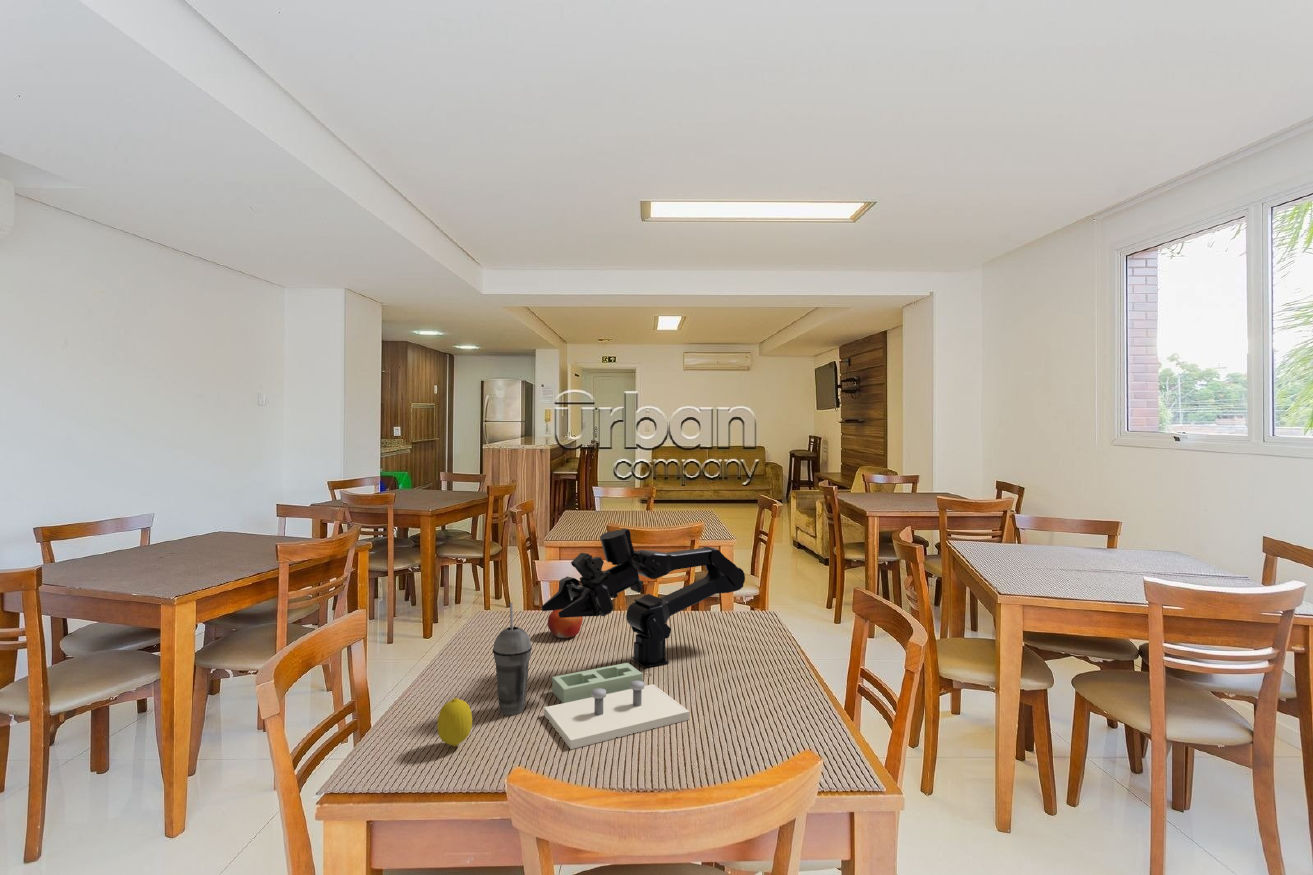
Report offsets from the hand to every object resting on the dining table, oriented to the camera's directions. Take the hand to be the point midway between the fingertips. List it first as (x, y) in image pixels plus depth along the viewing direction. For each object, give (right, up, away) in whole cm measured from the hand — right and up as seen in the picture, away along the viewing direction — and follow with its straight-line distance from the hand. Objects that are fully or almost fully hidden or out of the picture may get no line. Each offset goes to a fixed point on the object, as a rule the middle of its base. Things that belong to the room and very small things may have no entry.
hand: (550, 612), depth 125 cm
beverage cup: (-5, -15, -12) cm, 20 cm away
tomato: (-2, -16, +32) cm, 36 cm away
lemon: (-12, -15, -25) cm, 32 cm away
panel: (+10, -15, -2) cm, 18 cm away
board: (+15, -15, -14) cm, 26 cm away
